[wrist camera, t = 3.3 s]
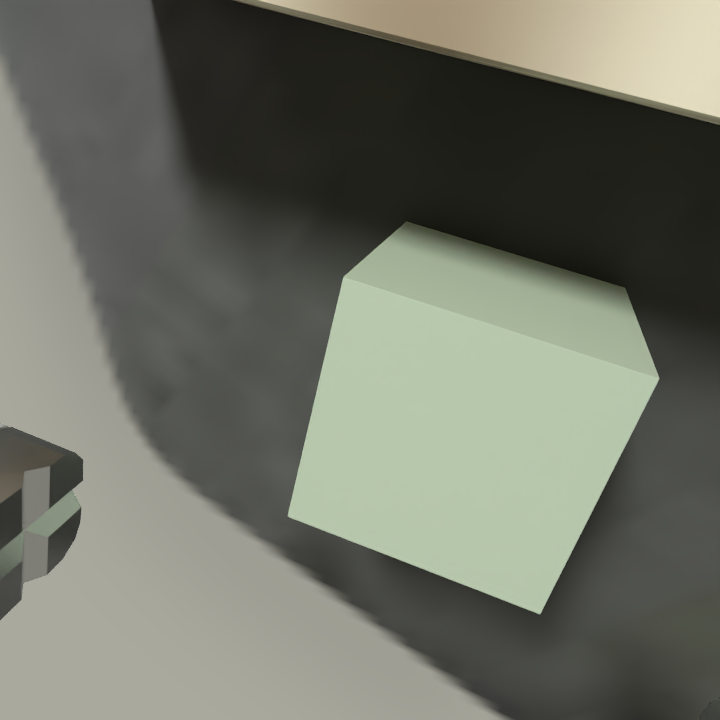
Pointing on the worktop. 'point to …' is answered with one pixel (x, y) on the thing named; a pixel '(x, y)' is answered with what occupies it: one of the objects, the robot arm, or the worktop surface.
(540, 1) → the birch plinth
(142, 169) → the worktop surface
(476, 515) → the sage block
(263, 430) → the worktop surface
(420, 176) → the worktop surface
